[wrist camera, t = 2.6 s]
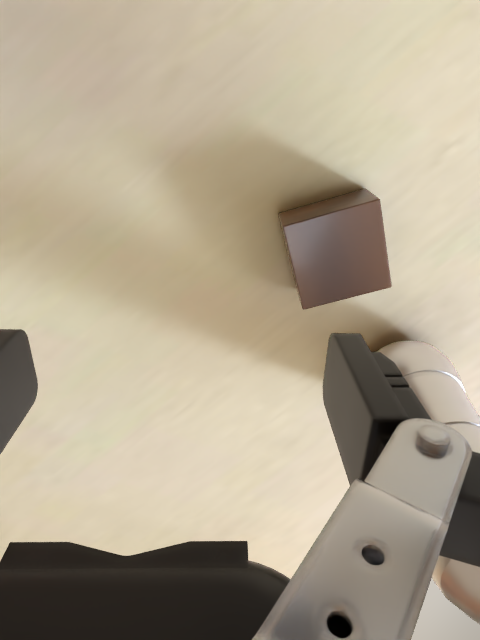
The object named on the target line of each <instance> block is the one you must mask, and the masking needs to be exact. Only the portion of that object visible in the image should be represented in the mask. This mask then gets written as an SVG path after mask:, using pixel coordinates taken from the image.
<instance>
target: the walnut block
mask: <svg viewBox="0 0 480 640" xmlns="http://www.w3.org/2000/svg"><path fill="white" fill-rule="evenodd" d="M278 215H279V219H280V223H281V227H282V231H283V235H284V239H285V243H286V247H287V251H288V255H289V260H290V264H291V268H292V272H293V276H294V280H295V284H296V288H297V291H298V295H299V298H300V301H301V305H302V308H303V309H308V308H312V307H316V306H319V305H323V304H327V303H331V302H335V301H339V300H343V299H347V298H351V297H354V296H358V295H362V294H366V293H370V292H374V291H378V290H382V289H386V288H390V287H391V286H392V285H391V278H390V271H389V263H388V256H387V248H386V241H385V234H384V226H383V219H382V212H381V204H380V199H379V198H378V197H376V196H375V195H374V194H372V193H371V192H370V191H368V190H367V189H361V190H358V191H354V192H351V193H347V194H344V195H340V196H337V197H334V198H330V199H327V200H323V201H320V202H316V203H313V204H309V205H306V206H302V207H299V208H295V209H292V210H288V211H285V212H281V213H279V214H278Z"/></svg>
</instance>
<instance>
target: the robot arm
mask: <svg viewBox="0 0 480 640" xmlns="http://www.w3.org/2000/svg"><path fill="white" fill-rule="evenodd" d="M37 389H38V383H37V377H36V372H35V368H34V363H33V359H32V354H31V350H30V345H29V340H28V337H27V334H26V333H25V332H24V331H23V330H13V329H0V454H1V453H2V451H3V450H4V448H5V446H6V445H7V443H8V442H9V440H10V439H11V437H12V436H13V434H14V433H15V431H16V430H17V428H18V427H19V425H20V424H21V422H22V421H23V419H24V417H25V416H26V414H27V413H28V411H29V410H30V408H31V407H32V405H33V404H34V402H35V399H36V396H37ZM323 400H324V405H325V408H326V412H327V415H328V418H329V421H330V424H331V427H332V430H333V433H334V437H335V440H336V443H337V446H338V449H339V452H340V455H341V458H342V462H343V465H344V468H345V471H346V474H347V477H348V480H349V483H350V487H349V489H348V490H347V492H346V493H345V495H344V497H343V498H342V500H341V501H340V503H339V504H338V506H337V508H336V509H335V511H334V512H333V514H332V516H331V517H330V519H329V520H328V522H327V523H326V525H325V527H324V528H323V530H322V531H321V533H320V534H319V536H318V538H317V539H316V541H315V542H314V544H313V545H312V547H311V549H310V550H309V552H308V553H307V555H306V556H305V558H304V560H303V561H302V563H301V564H300V566H299V567H298V569H297V571H296V572H295V574H294V575H293V577H292V578H291V579H289V578H288V577H286V576H285V575H283V574H281V573H279V572H278V571H276V570H274V569H272V568H269V567H267V566H264V565H262V564H259V563H256V562H252V561H248V546H247V541H191V542H186V543H182V544H177V545H173V546H169V547H165V548H161V549H157V550H153V551H148V552H144V553H140V554H136V555H131V556H122V555H117V554H113V553H109V552H106V551H102V550H98V549H94V548H90V547H86V546H82V545H78V544H74V543H70V542H10V544H9V546H8V548H7V550H6V552H5V553H4V555H3V557H2V559H1V561H0V640H411V637H412V635H413V632H414V629H415V626H416V623H417V620H418V617H419V613H420V610H421V608H422V605H423V602H424V599H425V596H426V593H427V590H428V587H429V584H430V581H431V578H432V575H433V572H434V569H435V566H436V563H437V560H438V557H439V555H440V556H443V557H447V558H450V559H453V560H457V561H460V562H464V563H467V564H471V565H474V566H478V567H480V453H477V452H474V451H472V450H471V447H470V444H469V443H468V441H467V440H466V439H465V438H464V437H463V436H462V435H461V434H460V433H459V432H457V431H456V430H454V429H453V428H451V427H449V426H447V425H445V424H443V423H440V422H437V421H434V420H432V419H431V418H430V416H429V415H428V413H427V412H426V410H425V409H424V407H423V405H422V404H421V402H420V401H419V399H418V398H417V396H416V395H415V393H414V392H413V390H412V388H409V384H408V382H407V381H406V379H405V378H404V377H403V375H402V373H401V371H400V370H399V368H398V367H397V365H396V364H395V362H393V361H392V360H390V359H389V358H388V357H386V356H385V355H384V354H382V353H381V352H371V351H370V349H369V348H368V346H367V344H366V342H365V341H364V339H363V337H362V336H361V334H346V333H332V334H331V335H330V338H329V342H328V350H327V357H326V365H325V372H324V380H323Z"/></svg>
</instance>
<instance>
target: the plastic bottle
mask: <svg viewBox="0 0 480 640" xmlns="http://www.w3.org/2000/svg"><path fill="white" fill-rule="evenodd" d="M377 352H381V353H382V354H384V355H385V356H386V357H388V358H389V359H390V360H392V361H393V362H395V364H396V365H397V367H398V368H399V370H400V371H401V373H402V375H403V377H404V378H405V379H406V381H407V382H408V384H409V388H412V390H413V392H414V393H415V395H416V396H417V398H418V399H419V401H420V402H421V404H422V405H423V407H424V409H425V410H426V412H427V413H428V415H429V416H430V418H431V419H432V420H434V421H437V422H440V423H443V424H445V425H447V426H449V427H451V428H453V429H454V430H456V431H457V432H459V433H460V434H461V435H462V436H463V437H464V438H465V439H466V440H467V441H468V443H469V444H470V447H471V450H472V451H474V452H477V453H480V417H479V415H478V413H477V412H476V410H475V408H474V406H473V405H472V403H471V401H470V399H469V398H468V396H467V394H466V393H465V389H464V386H463V383H462V381H461V379H460V377H459V375H458V373H457V371H456V369H455V367H454V365H453V363H452V362H451V361H450V359H449V358H448V357H447V356H445V355H444V354H443V353H442V352H440V351H439V350H438V349H436V348H435V347H434V346H432V345H430V344H428V343H425V342H421V341H399V342H395V343H392V344H389V345H387V346H385V347H383V348H381V349H380V350H378V351H377ZM432 579H433V580H434V582H435V583H436V585H437V586H438V587H439V589H440V590H441V591H442V593H443V594H444V596H445V597H446V598H447V599H448V600H450V602H452V603H453V604H454V605H455V606H457V607H458V608H459V609H461V610H462V611H463V612H464V613H465V614H466V615H468V616H469V617H470V618H472V619H473V620H474V621H476V622H477V623H479V624H480V567H478V566H474V565H471V564H467V563H464V562H460V561H457V560H453V559H450V558H447V557H443V556H440V555H439V557H438V560H437V563H436V566H435V569H434V572H433V575H432Z"/></svg>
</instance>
